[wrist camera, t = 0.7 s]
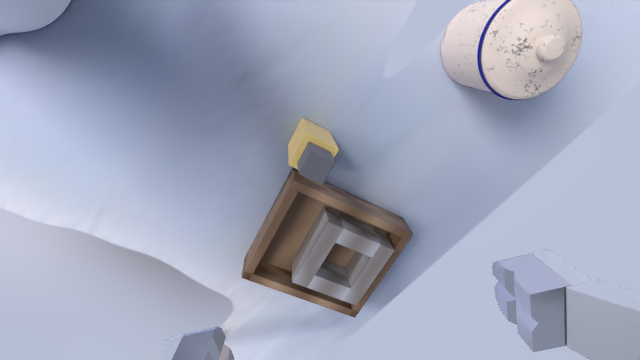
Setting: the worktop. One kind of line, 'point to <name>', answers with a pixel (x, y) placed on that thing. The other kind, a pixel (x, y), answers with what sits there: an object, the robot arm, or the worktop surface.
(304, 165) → the connector
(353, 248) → the walled box
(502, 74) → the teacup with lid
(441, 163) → the worktop surface
